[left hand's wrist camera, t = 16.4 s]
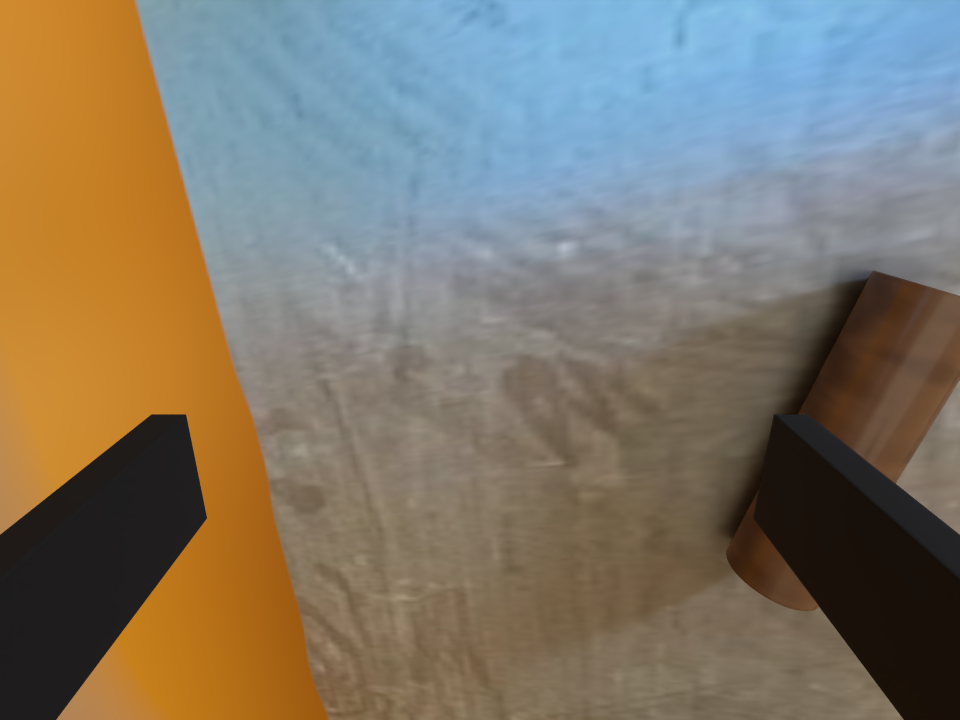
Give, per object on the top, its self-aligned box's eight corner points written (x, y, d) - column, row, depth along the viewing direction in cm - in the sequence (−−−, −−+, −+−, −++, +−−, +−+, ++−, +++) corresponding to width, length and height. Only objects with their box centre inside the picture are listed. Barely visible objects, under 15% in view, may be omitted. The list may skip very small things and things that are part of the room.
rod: (850, 263, 42) (926, 286, 35) (941, 290, 42) (1035, 318, 35) (712, 536, 50) (750, 599, 43) (789, 554, 51) (840, 620, 44)
